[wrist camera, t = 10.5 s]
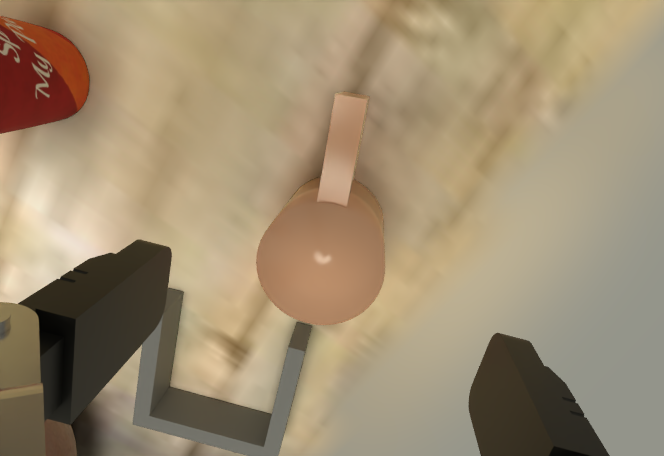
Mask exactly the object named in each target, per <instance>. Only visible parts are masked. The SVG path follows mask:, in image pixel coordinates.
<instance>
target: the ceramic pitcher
mask: <svg viewBox="0 0 664 456" xmlns="http://www.w3.org/2000/svg"><path fill="white" fill-rule="evenodd" d="M44 425H45V451H46V456H77V449H76V441H75V437H74V433H73V430H72V427H71V425H68V424H64V423H61V422H57V421H53V420H49V419H47V420H46V421H45V422H44Z"/></svg>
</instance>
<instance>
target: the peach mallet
mask: <svg viewBox="0 0 664 456" xmlns="http://www.w3.org/2000/svg"><path fill="white" fill-rule="evenodd" d="M369 98H370V96H365V95H360V94H354V93H349V92H341V93H336V94H335V98H334V104H333V110H332V116H331V122H330V128H329V134H328V140H327V145H326V151H325V157H324V163H323V169H322V175H321V177H318V178H315V179H313V180H310V181H309V182H307V183H305V184H304V185H303V186H301V187H300V188H299V189H298V190H297V191H296V192H295V194H294V195H293V196H292V197H291V199H290V200H289V201H288V203H287V204H286V205H285V207H284V208H283V209H282V210H281V212H280V213H279V214H278V216H277V217H276V218H275V220H274V221H273V222H272V224H271V225H270V226H269V228H268V229H267V230H266V232H265V233H264V235H263V237H262V239H261V241H260V244H259V247H258V252H257V260H256V264H257V273H258V277H259V280H260V283H261V286H262V288H263V290H264V291H265V293H266V295H267V296H268V297H269V299H270V300H271V301H272V302H273V303H274V305H276V306H277V307H278V308H279V309H280V310H281V311H283V312H284V313H286V314H287V315H289V316H291V317H293V318H294V319H297V320H299V321H302V322H306V323H309V324H316V325H331V324H337V323H342V322H345V321H348V320H350V319H352V318H354V317H356V316H358V315H359V314H361V313H362V312H364V311H365V310H366V309H367V308H368V307H369V306H370V305H371V304H372V303H373V301H374V300H375V298H376V297H377V295H378V294H379V291H380V289H381V287H382V284H383V280H384V274H385V252H384V221H383V214H382V211H381V208H380V205H379V203H378V201H377V199H376V198H375V196H374V195H373V194H372V193H371V192H370V191H369V190H368V189H367V188H366V187H365V186H364V185H362V184H361V183H359V182H357V181H356V180H354V175H355V170H356V165H357V160H358V154H359V149H360V144H361V139H362V134H363V129H364V123H365V118H366V113H367V108H368V103H369Z"/></svg>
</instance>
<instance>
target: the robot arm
mask: <svg viewBox="0 0 664 456" xmlns="http://www.w3.org/2000/svg"><path fill="white" fill-rule="evenodd" d="M171 257H172V253H171V249H170V248H169V247H167V246H163V245H159V244H155V243H151V242H147V241H143V240H136V241H135V242H133V243H132V244H130V245H129V246H127V247H126V248H124V249H123V250H121V251H120V252H118V253H117V254H113V253H108V254H105V255H101V256H98V257H94V258H91V259H88V260H87V261H85V262H83V263H82V264H80V265H79V266H77V267H75V268H74V270H73V271H69V272H68V273H66V274H64V275H63V276H61V278H60V279H56V280H55V281H53V282H52V283H50V284H48V285H47V286H45V287H44V288H42V289H40V290H39V291H37V292H36V293H34V294H33V295H31V296H29V297H28V298H26V299H25V300H23V301H21V302H20V303H18V304H14V303H5V302H0V456H46V451H45V425H44V422H45V421H46V420H47V419H49V420H53V421H57V422H61V423H64V424H68V425H71V424H72V423H73V421H74V420H75V419H76V418H77V417H78V416H79V415H80V414H81V412H82V411H83V410H84V409H85V408H86V407H87V406H88V404H89V403H90V402H91V401H92V400H93V399H94V398H95V397H96V395H97V394H98V393H99V392H100V391H101V390H102V389H103V388H104V386H105V385H106V384H107V383H108V382H109V381H110V380H111V379H112V377H113V376H114V375H115V374H116V373H117V372H118V371H119V370H120V368H121V367H122V366H123V365H124V364H125V363H126V362H127V361H128V359H129V358H130V357H131V356H132V355H133V354H134V353H135V351H136V350H137V349H138V348H139V347H140V346H141V345H142V344H143V342H144V341H145V340H146V339H147V338H148V337H149V336H150V335H151V333H152V332H153V331H154V330H155V329H156V327H157V326H158V324H159V322H160V320H161V318H162V316H163V313H164V309H165V305H166V298H167V290H168V282H169V274H170V266H171ZM575 401H576V400H575V398H574V396H573V395H572V393H571V392H570V390H569V389H568V387H567V385H566V384H565V382H563V381H562V380H561V379H560V378H559V377H558V376H557V375H556V374H555V373H554V372H553V371H552V370H551V369H550V368H549V367H546V366H544V365H543V363H542V361H541V360H540V358H539V356H538V354H537V353H536V351H535V349H534V347H533V345H532V344H531V343H530V342H529V341H527V340H523V339H520V338H516V337H512V336H508V335H504V334H500V333H496V334H495V335H493V337H492V338H491V340H490V342H489V345H488V347H487V349H486V352H485V354H484V357H483V359H482V362H481V364H480V366H479V369H478V372H477V374H476V376H475V379H474V381H473V384H472V386H471V390H470V395H469V413H470V417H471V420H472V424H473V428H474V431H475V435H476V439H477V443H478V447H479V450H480V454H481V456H609V454H608V453H607V451H606V449H605V448H604V446H603V444H602V443H601V441H600V439H599V438H598V436H597V434H596V433H595V431H594V429H593V428H592V426H591V425H590V423H589V421H588V420H587V418H585V417H584V413H583V411H582V410H581V408H580V406H579V405H578V404H577V403H575Z"/></svg>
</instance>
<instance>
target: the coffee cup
mask: <svg viewBox="0 0 664 456" xmlns="http://www.w3.org/2000/svg"><path fill="white" fill-rule="evenodd" d="M88 92H89V74H88V69H87V66H86V63H85V61H84V59H83V57H82V55H81V54H80V52H79V51H78V49H77V48H76V47H75V46H74V44H73V43H72V42H70V41H69V40H68V39H67V38H66V37H64V36H63V35H61V34H59V33H57V32H55V31H53V30H50V29H47V28H44V27H40V26H37V25H33V24H30V23H26V22H22V21H18V20H15V19H11V18H7V17H3V16H0V134H1V133H6V132H11V131H15V130H20V129H25V128H29V127H34V126H38V125H43V124H47V123H51V122H55V121H59V120H62V119H66V118H68V117H70V116H72V115H74V114H75V113H77V112H78V111H79V110H80V109H81V107H82V106H83V105H84V103H85V101H86V99H87V96H88Z"/></svg>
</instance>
